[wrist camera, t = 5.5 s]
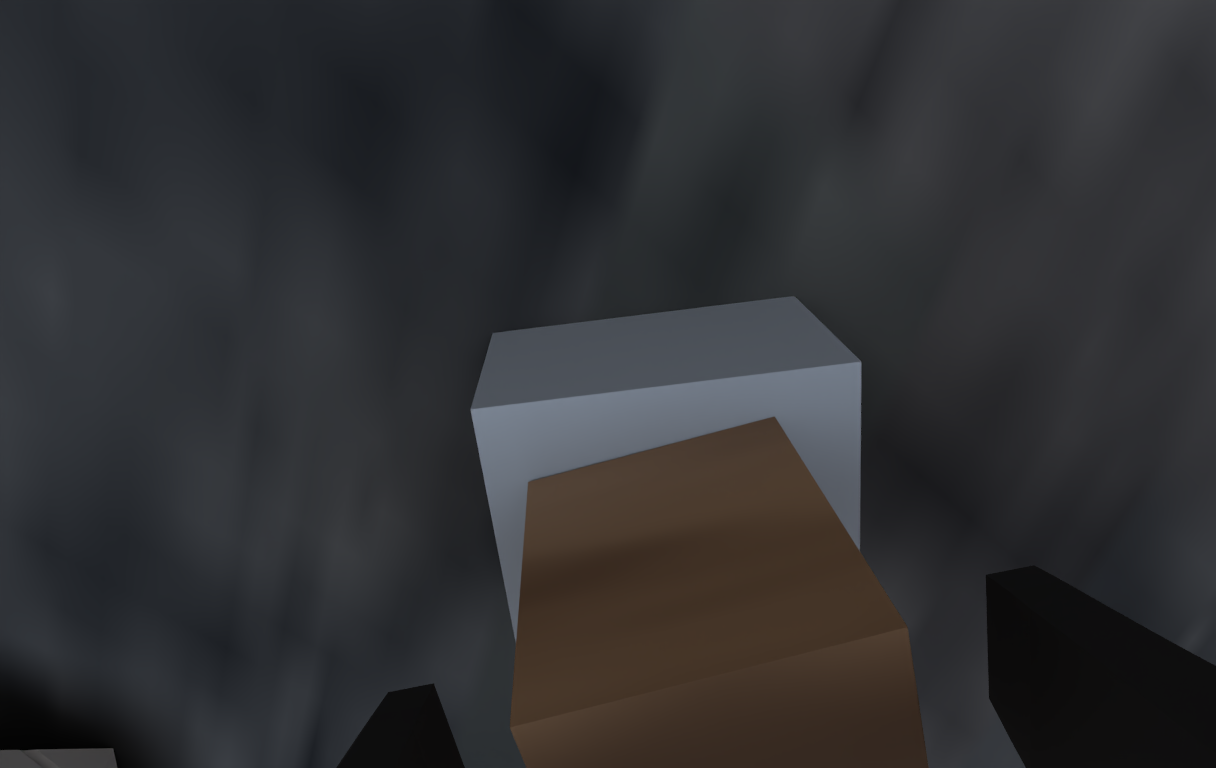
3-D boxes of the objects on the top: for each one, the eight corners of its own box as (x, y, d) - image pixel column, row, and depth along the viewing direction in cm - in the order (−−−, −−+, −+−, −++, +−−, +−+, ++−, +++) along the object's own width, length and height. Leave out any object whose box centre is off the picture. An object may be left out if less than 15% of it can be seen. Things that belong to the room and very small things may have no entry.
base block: (791, 293, 16) (861, 361, 12) (798, 547, 18) (858, 671, 14) (493, 329, 16) (470, 409, 12) (537, 579, 18) (529, 711, 14)
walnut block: (815, 617, 14) (947, 897, 9) (594, 673, 14) (613, 976, 9) (774, 416, 12) (907, 626, 8) (527, 482, 12) (509, 727, 8)
